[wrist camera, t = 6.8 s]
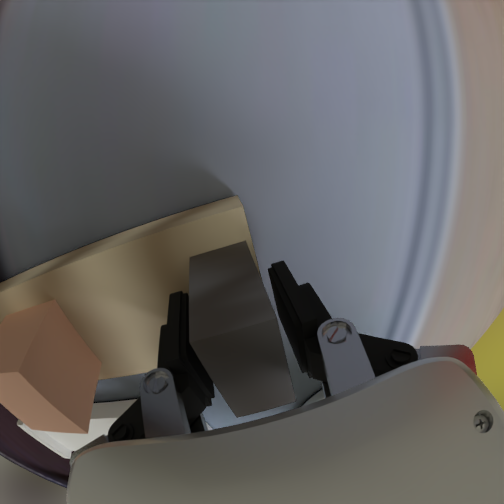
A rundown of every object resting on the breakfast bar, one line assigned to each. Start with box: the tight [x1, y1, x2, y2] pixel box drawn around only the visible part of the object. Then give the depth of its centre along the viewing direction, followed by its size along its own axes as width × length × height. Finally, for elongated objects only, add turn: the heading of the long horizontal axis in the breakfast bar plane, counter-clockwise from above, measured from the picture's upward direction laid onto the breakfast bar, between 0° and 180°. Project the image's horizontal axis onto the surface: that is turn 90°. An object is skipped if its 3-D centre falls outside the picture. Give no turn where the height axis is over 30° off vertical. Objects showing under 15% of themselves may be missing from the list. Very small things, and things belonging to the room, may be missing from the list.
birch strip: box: [0, 195, 296, 418], centre depth 11 cm, size 20×8×7 cm, turn 103°
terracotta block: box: [0, 299, 102, 434], centre depth 10 cm, size 5×5×5 cm
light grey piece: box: [17, 399, 213, 459], centre depth 17 cm, size 20×8×7 cm, turn 103°
